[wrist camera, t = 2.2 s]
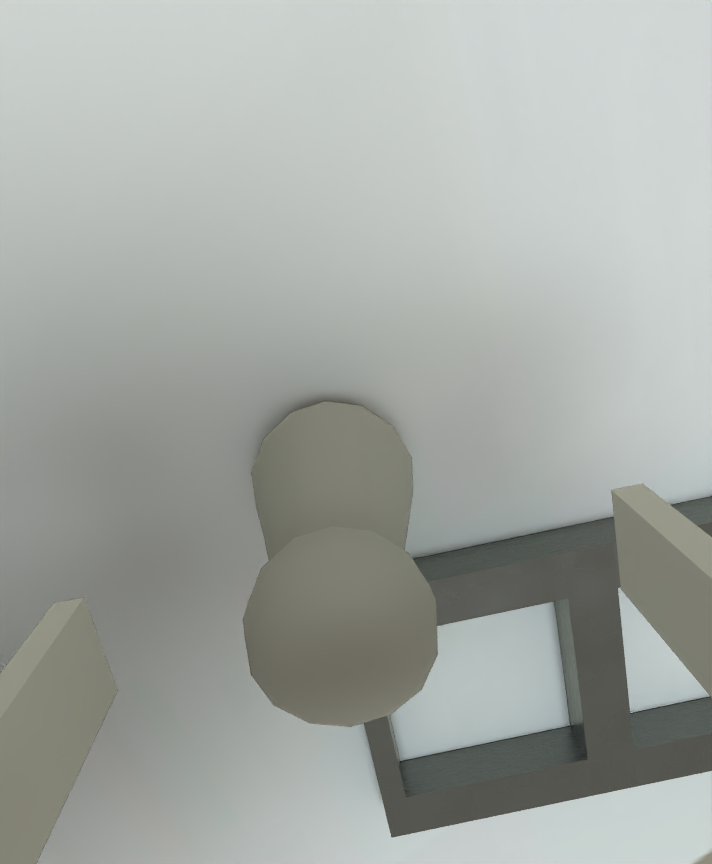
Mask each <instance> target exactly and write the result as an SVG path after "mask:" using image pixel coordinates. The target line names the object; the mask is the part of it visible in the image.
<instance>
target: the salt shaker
mask: <svg viewBox="0 0 712 864" xmlns="http://www.w3.org/2000/svg"><path fill="white" fill-rule="evenodd" d="M251 475H252V482H253V488H254V495H255V502H256V508H257V512H258V516H259V519H260V523H261V527H262V531H263V535H264V539H265V544H266V549H267V554H268V559H269V562H268V563H267V564H265V565H264V566H263V567H262V568H261V571H260V573H259V576H258V578H257V581H256V583H255V586H254V588H253V591H252V593H251V596H250V598H249V601H248V603H247V607H246V610H245V614H244V617H243V625H244V634H245V641H246V647H247V653H248V660H249V666H250V672H251V675H252V677H253V678H254V679H255V681H256V682H257V683H258V685H259V686H260V687H261V689H262V690H263V691H264V693H265V694H266V696H267V697H268V698H269V700H270V701H271V702H272V704H273V705H274V706H276V707H278V708H280V709H282V710H284V711H286V712H288V713H290V714H292V715H294V716H296V717H298V718H300V719H302V720H304V721H306V722H308V723H313V724H324V725H335V726H346V727H352V726H356V725H359V724H362V723H365V722H368V721H372V720H375V719H378V718H381V717H384V716H387V715H390V714H392V713H393V712H394V711H395V710H397V709H398V708H399V707H400V706H402V705H403V704H404V703H405V702H407V701H408V700H409V699H410V698H412V697H413V696H414V695H415V694H417V693H418V692H419V691H420V690H422V688H423V686H424V683H425V681H426V679H427V677H428V675H429V672H430V670H431V668H432V666H433V664H434V662H435V659H436V657H437V655H438V650H437V616H436V599H435V597H434V594H433V592H432V590H431V588H430V586H429V584H428V582H427V581H426V579H425V578H424V576H423V575H422V573H421V572H420V570H419V568H418V567H417V565H416V564H415V562H414V561H413V559H412V558H411V556H410V554H409V553H407V552H406V551H404V550H405V543H406V537H407V530H408V523H409V516H410V509H411V503H412V496H413V475H412V457H411V455H410V454H409V452H408V450H407V449H406V447H405V446H404V444H403V442H402V441H401V439H400V437H399V436H398V434H397V432H396V431H395V429H394V428H393V427H392V426H391V425H390V424H388V423H387V422H385V421H384V420H382V419H381V418H379V417H378V416H376V415H375V414H373V413H372V412H370V411H369V410H367V409H365V408H364V407H362V406H360V405H352V404H344V403H336V402H327V401H325V402H322V403H318V404H315V405H312V406H309V407H306V408H303V409H300V410H297V411H294V412H291V413H290V414H289V415H288V416H287V417H286V418H285V419H284V420H283V421H282V422H281V423H280V424H278V425H277V426H276V427H275V428H274V429H273V430H272V431H271V432H270V433H269V434H268V435H267V436H266V437H265V438H264V439H263V442H262V445H261V447H260V450H259V453H258V456H257V458H256V461H255V464H254V466H253V469H252V472H251Z"/></svg>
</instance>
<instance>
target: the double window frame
mask: <svg viewBox="0 0 712 864" xmlns="http://www.w3.org/2000/svg"><path fill="white" fill-rule="evenodd" d="M671 506H672V507H673V508H675V509H676V510H677V511H679V512H680V513H681V514H682V515H684V516H685V517H686V518H688V519H689V520H690V521H692V522H693V523H694V524H695V525H697V526H698V527H699V528H701V529H702V530H703V531H704V532H706V533H707V534H708V535H710V536H711V537H712V497H707V498H702V499H698V500H693V501H688V502H683V503H679V504H674V505H671ZM413 561H414V562H415V564H416V565H417V567H418V568H419V570H420V572H421V573H422V575H423V576H424V578H425V579H426V581H427V582H428V584H429V586H430V588H431V590H432V592H433V594H434V597H435V599H436V616H437V626H439V625H444V624H448V623H453V622H458V621H463V620H468V619H472V618H477V617H482V616H487V615H491V614H496V613H501V612H506V611H510V610H515V609H520V608H525V607H529V606H534V605H539V604H544V603H548V602H553V601H554V602H555V609H556V617H557V625H558V632H559V640H560V648H561V655H562V663H563V671H564V678H565V686H566V694H567V701H568V709H569V717H570V724H571V726H570V727H565V728H560V729H555V730H550V731H546V732H541V733H536V734H531V735H527V736H522V737H517V738H512V739H507V740H503V741H498V742H493V743H488V744H484V745H479V746H474V747H469V748H464V749H460V750H455V751H450V752H445V753H441V754H436V755H431V756H426V757H421V758H417V759H412V760H407V761H402V762H400V759H399V754H398V750H397V745H396V741H395V736H394V732H393V728H392V723H391V719H390V715H387V716H384V717H381V718H378V719H375V720H372V721H368V722H365V723H364V725H365V729H366V733H367V737H368V741H369V746H370V750H371V754H372V758H373V762H374V766H375V771H376V775H377V779H378V783H379V787H380V791H381V795H382V800H383V804H384V808H385V812H386V816H387V820H388V824H389V829H390V833H391V837H396V836H401V835H406V834H411V833H416V832H420V831H425V830H430V829H435V828H440V827H444V826H449V825H454V824H459V823H463V822H468V821H473V820H478V819H483V818H487V817H492V816H497V815H502V814H507V813H511V812H516V811H521V810H526V809H531V808H535V807H540V806H545V805H550V804H554V803H559V802H564V801H569V800H574V799H578V798H583V797H588V796H593V795H598V794H602V793H607V792H612V791H617V790H621V789H626V788H631V787H636V786H641V785H645V784H650V783H655V782H660V781H665V780H669V779H674V778H679V777H684V776H688V775H693V774H698V773H703V772H708V771H712V697H708V698H703V699H699V700H694V701H689V702H684V703H679V704H675V705H670V706H665V707H660V708H656V709H651V710H646V711H641V712H636V713H632V714H630V708H629V698H628V688H627V678H626V668H625V657H624V647H623V637H622V627H621V616H620V606H619V596H618V588H620V587H621V584H620V574H619V564H618V553H617V543H616V533H615V522H614V517H612V518H607V519H603V520H598V521H593V522H588V523H584V524H579V525H574V526H569V527H565V528H560V529H555V530H550V531H546V532H541V533H536V534H531V535H527V536H522V537H517V538H512V539H508V540H503V541H498V542H493V543H489V544H484V545H479V546H474V547H470V548H465V549H460V550H455V551H451V552H446V553H441V554H436V555H432V556H427V557H422V558H417V559H413Z"/></svg>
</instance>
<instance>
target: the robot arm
mask: <svg viewBox="0 0 712 864" xmlns="http://www.w3.org/2000/svg"><path fill="white" fill-rule="evenodd" d="M611 492H612V502H613V512H614V522H615V533H616V543H617V553H618V564H619V574H620V584H621V590H622V591H623V592H624V593H625V595H626V596H627V597H628V598H629V599H630V601H631V602H632V603H633V604H634V605H635V607H636V608H637V609H638V610H639V611H640V613H641V614H642V615H643V616H644V617H645V619H646V620H647V621H648V622H649V623H650V624H651V626H652V627H653V628H654V629H655V630H656V632H657V633H658V634H659V635H660V636H661V638H662V639H663V640H664V641H665V642H666V644H667V645H668V646H669V647H670V648H671V650H672V651H673V652H674V653H675V654H676V656H677V657H678V658H679V659H680V660H681V662H682V663H683V664H684V665H685V666H686V668H687V669H688V670H689V671H690V672H691V673H692V675H693V676H694V677H695V678H696V679H697V681H698V682H699V683H700V684H701V685H702V687H703V688H704V689H705V690H706V691H707V693H708V694H709V695H710V696H711V697H712V537H711V536H710V535H708V534H707V533H706V532H704V531H703V530H702V529H701V528H699V527H698V526H697V525H695V524H694V523H693V522H692V521H690V520H689V519H688V518H686V517H685V516H684V515H682V514H681V513H680V512H679V511H677V510H676V509H675V508H673V507H672V506H671V505H670V504H668V503H667V502H666V501H664V500H663V499H662V498H661V497H659V496H658V495H657V494H655V493H654V492H653V491H652V490H650V489H649V488H648V487H646V486H645V485H644V484H638V485H633V486H628V487H624V488H619V489H614V490H611ZM117 691H118V689H117V687H116V684H115V681H114V678H113V676H112V673H111V670H110V667H109V665H108V662H107V659H106V656H105V654H104V651H103V648H102V646H101V643H100V640H99V637H98V635H97V632H96V629H95V626H94V624H93V621H92V618H91V615H90V613H89V610H88V607H87V604H86V602H85V599H84V597H82V598H78V599H73V600H68V601H63V602H58V603H53V605H52V606H51V607H50V609H49V610H48V611H47V613H46V614H45V615H44V617H43V618H42V619H41V621H40V622H39V623H38V625H37V626H36V627H35V628H34V630H33V631H32V632H31V634H30V635H29V636H28V638H27V639H26V640H25V642H24V643H23V644H22V646H21V647H20V648H19V650H18V651H17V652H16V653H15V655H14V656H13V657H12V659H11V660H10V661H9V663H8V664H7V665H6V667H5V668H4V669H3V671H2V672H1V673H0V864H36V863H37V861H38V859H39V857H40V855H41V852H42V850H43V848H44V846H45V844H46V842H47V840H48V837H49V835H50V833H51V831H52V829H53V827H54V825H55V823H56V820H57V818H58V816H59V814H60V812H61V810H62V808H63V806H64V803H65V801H66V799H67V797H68V795H69V793H70V791H71V789H72V786H73V784H74V782H75V780H76V778H77V776H78V774H79V772H80V769H81V767H82V765H83V763H84V761H85V759H86V757H87V755H88V752H89V750H90V748H91V746H92V744H93V742H94V740H95V737H96V735H97V733H98V731H99V729H100V727H101V725H102V723H103V720H104V718H105V716H106V714H107V712H108V710H109V708H110V706H111V703H112V701H113V699H114V697H115V695H116V693H117Z"/></svg>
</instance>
